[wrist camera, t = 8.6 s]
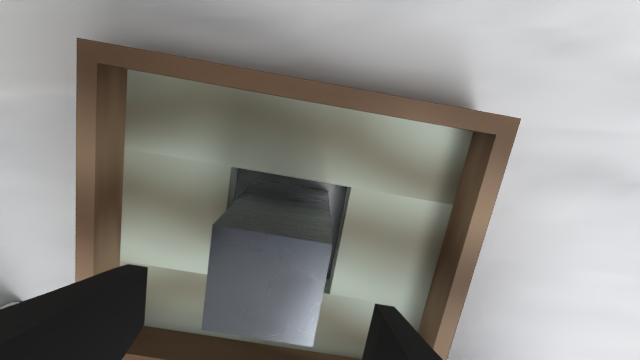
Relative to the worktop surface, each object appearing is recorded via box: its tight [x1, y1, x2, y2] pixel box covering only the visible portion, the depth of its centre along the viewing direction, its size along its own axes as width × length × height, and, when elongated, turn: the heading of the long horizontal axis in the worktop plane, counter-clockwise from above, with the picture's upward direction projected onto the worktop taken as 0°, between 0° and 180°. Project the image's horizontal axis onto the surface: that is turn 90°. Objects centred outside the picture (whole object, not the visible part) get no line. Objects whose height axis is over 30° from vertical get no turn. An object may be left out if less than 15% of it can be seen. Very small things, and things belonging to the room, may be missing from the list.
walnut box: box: [75, 38, 521, 360], centre depth 16 cm, size 15×18×4 cm
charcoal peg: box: [201, 179, 333, 347], centre depth 14 cm, size 4×4×7 cm
